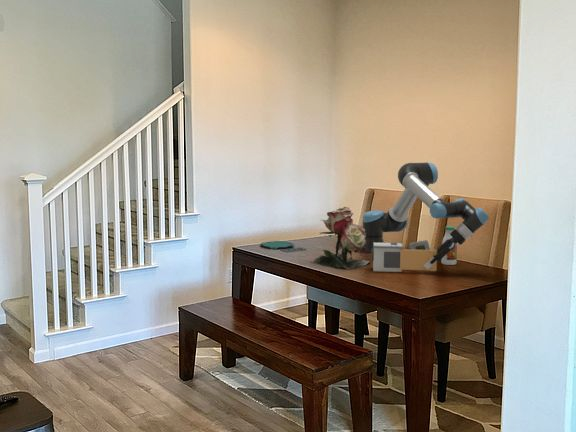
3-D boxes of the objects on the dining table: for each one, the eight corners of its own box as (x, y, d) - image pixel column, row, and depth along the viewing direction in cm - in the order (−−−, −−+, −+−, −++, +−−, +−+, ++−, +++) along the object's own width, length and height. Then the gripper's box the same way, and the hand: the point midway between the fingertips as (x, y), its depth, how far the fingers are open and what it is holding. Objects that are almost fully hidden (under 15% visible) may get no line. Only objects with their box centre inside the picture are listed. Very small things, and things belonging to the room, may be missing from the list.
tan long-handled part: (435, 269, 297) (436, 249, 296) (436, 270, 294) (437, 250, 293) (399, 268, 299) (400, 248, 298) (400, 270, 296) (400, 250, 295)
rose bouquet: (353, 271, 301) (354, 211, 297) (309, 263, 320) (309, 207, 317) (382, 263, 320) (383, 207, 316) (338, 256, 339) (338, 203, 336)
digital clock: (414, 264, 319) (414, 244, 317) (402, 261, 326) (403, 241, 325) (436, 261, 327) (437, 241, 325) (425, 258, 334) (425, 239, 333)
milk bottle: (440, 264, 317) (441, 227, 314) (442, 262, 324) (443, 225, 321) (455, 265, 314) (457, 227, 311) (456, 263, 321) (458, 225, 319)
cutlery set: (281, 243, 384) (281, 239, 384) (309, 251, 359) (309, 247, 359) (255, 246, 373) (255, 242, 372) (281, 254, 348) (281, 251, 348)
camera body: (400, 268, 308) (401, 241, 306) (402, 272, 297) (402, 244, 296) (371, 267, 310) (371, 240, 308) (371, 271, 299) (372, 244, 297)
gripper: (469, 242, 284) (432, 275, 288) (463, 237, 300) (428, 268, 304) (458, 231, 284) (421, 264, 288) (453, 226, 300) (418, 258, 304)
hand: (425, 266), depth 296 cm, fingers closed on tan long-handled part, 3 cm apart
